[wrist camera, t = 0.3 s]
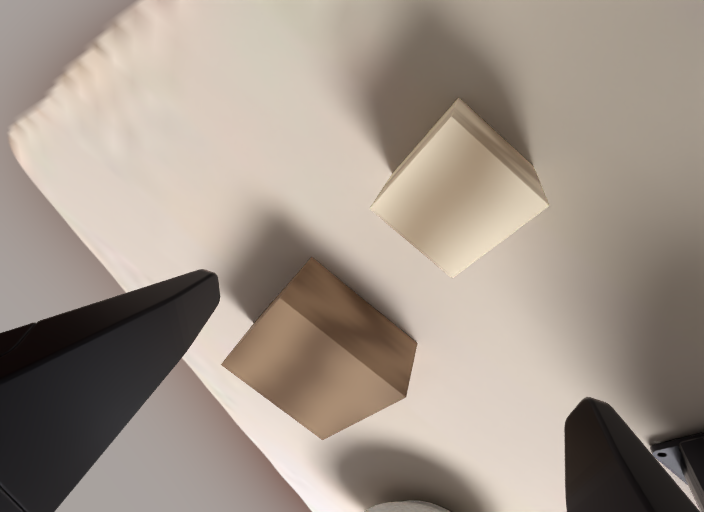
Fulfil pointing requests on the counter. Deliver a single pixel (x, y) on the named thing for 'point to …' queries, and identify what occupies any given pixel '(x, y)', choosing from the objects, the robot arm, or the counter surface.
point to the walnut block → (324, 354)
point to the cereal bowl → (407, 507)
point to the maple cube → (460, 191)
